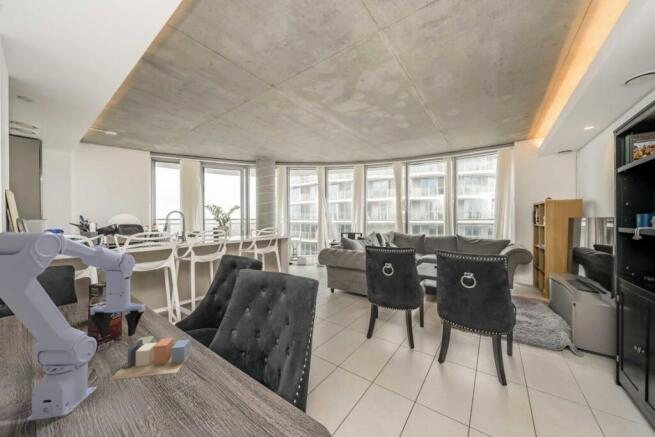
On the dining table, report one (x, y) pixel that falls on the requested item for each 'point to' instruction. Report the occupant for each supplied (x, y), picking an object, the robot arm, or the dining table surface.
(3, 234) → the robot arm
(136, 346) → the bookend
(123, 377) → the shelf board
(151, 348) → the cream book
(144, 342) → the flat book
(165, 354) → the terracotta cube
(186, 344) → the blue-grey block
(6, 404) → the dining table surface
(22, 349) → the dining table surface
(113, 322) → the supplement box
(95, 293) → the coffee box
